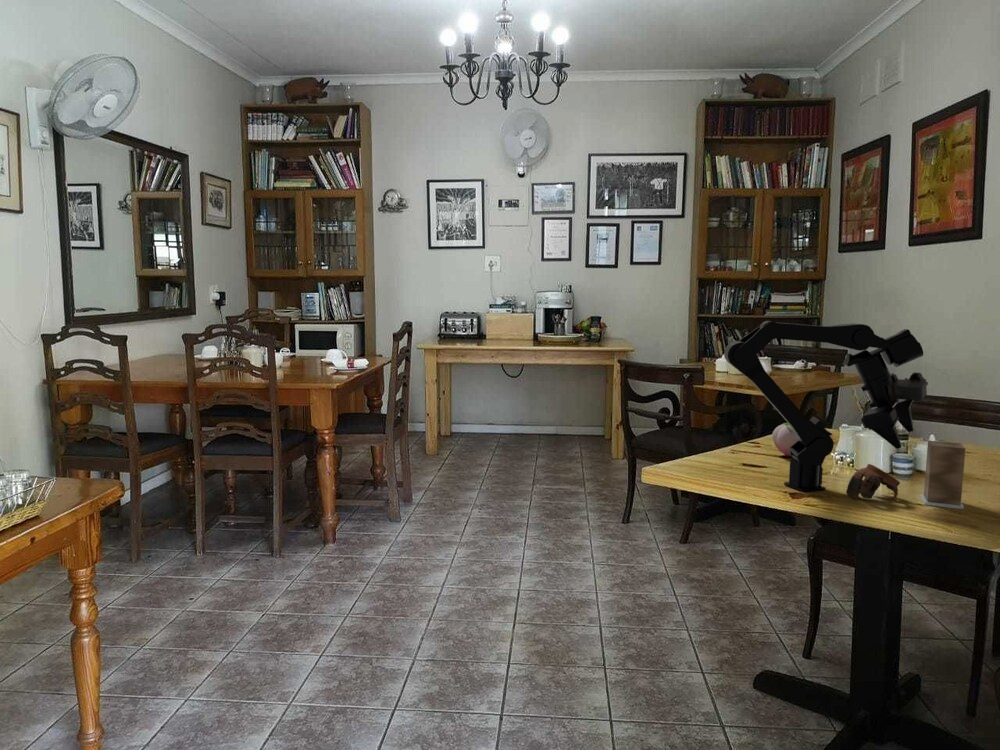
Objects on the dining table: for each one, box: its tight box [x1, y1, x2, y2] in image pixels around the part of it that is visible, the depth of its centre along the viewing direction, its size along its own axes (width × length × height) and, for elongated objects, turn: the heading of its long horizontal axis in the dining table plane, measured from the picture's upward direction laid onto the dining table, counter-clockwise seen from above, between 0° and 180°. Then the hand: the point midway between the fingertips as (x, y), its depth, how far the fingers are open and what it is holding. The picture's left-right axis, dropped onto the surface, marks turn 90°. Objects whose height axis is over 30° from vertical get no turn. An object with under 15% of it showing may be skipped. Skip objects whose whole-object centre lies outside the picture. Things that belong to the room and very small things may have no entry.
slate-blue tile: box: [920, 493, 964, 510], centre depth 154 cm, size 7×7×1 cm
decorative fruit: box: [771, 422, 798, 457], centre depth 196 cm, size 9×8×10 cm
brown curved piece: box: [845, 463, 901, 501], centre depth 156 cm, size 12×10×8 cm
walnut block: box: [923, 440, 966, 505], centre depth 153 cm, size 6×6×12 cm
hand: (905, 439), depth 160 cm, fingers open, 9 cm apart
